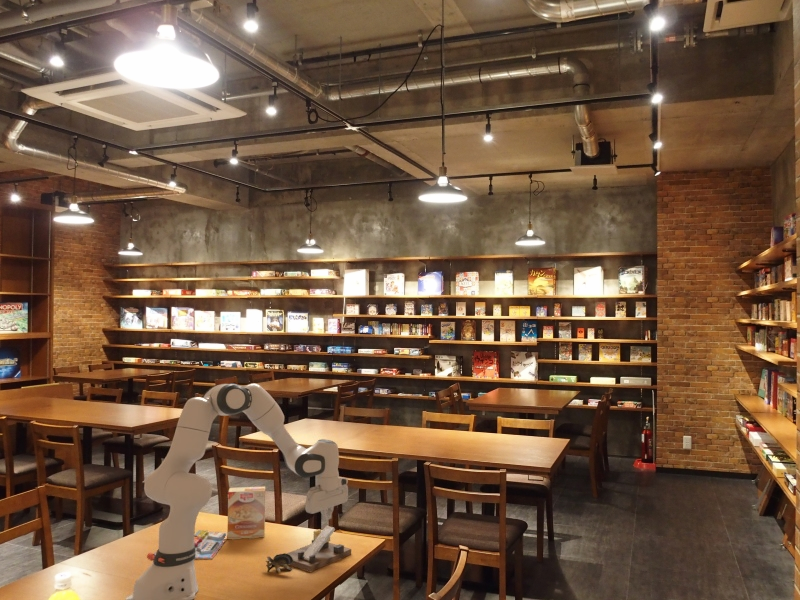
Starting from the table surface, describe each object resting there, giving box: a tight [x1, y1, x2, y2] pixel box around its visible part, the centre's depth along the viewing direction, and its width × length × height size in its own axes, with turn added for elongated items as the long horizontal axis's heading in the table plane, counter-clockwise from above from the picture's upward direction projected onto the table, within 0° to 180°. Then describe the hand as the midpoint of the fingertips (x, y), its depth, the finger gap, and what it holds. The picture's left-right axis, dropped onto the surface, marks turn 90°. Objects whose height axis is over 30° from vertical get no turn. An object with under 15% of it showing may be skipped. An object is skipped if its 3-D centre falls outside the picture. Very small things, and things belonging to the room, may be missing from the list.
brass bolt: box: [313, 528, 331, 543], centre depth 243 cm, size 3×6×3 cm, turn 53°
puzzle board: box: [153, 529, 227, 560], centre depth 249 cm, size 30×23×3 cm
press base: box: [286, 539, 352, 573], centre depth 237 cm, size 22×16×4 cm
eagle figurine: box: [265, 552, 293, 574], centre depth 224 cm, size 8×7×9 cm
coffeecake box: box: [227, 486, 266, 540], centre depth 261 cm, size 15×7×20 cm, turn 101°
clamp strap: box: [302, 525, 336, 561], centre depth 233 cm, size 16×4×1 cm
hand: (327, 519), depth 238 cm, fingers closed
